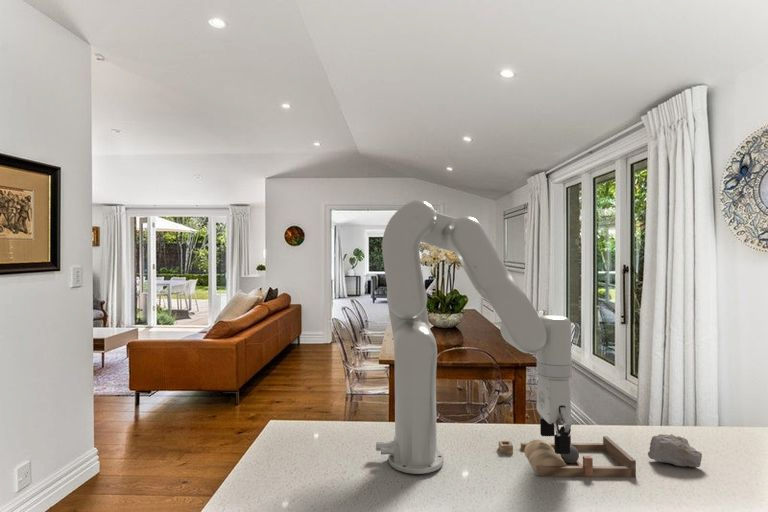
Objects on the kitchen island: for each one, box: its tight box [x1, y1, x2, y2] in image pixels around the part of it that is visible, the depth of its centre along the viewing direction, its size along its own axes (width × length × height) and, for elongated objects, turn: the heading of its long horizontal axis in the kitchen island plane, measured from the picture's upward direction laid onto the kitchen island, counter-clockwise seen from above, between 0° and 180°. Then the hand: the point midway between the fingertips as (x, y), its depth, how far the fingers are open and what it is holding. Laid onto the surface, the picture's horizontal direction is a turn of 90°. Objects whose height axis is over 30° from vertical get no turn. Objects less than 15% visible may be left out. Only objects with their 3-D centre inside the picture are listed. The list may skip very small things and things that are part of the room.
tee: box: [498, 440, 514, 455], centre depth 108 cm, size 3×3×2 cm
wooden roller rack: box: [520, 434, 637, 478], centre depth 102 cm, size 21×13×9 cm, turn 88°
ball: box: [559, 445, 580, 464], centre depth 102 cm, size 4×4×4 cm
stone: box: [647, 433, 703, 468], centre depth 101 cm, size 8×10×6 cm
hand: (554, 444), depth 102 cm, fingers open, 9 cm apart
